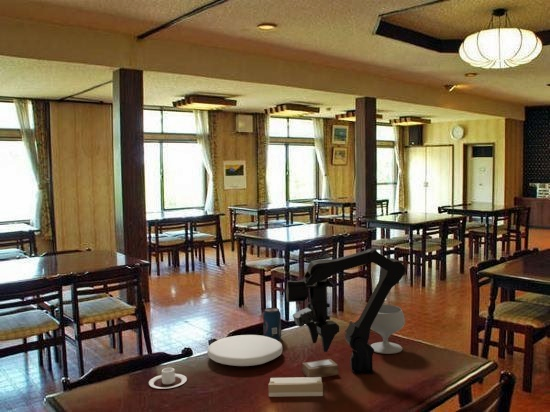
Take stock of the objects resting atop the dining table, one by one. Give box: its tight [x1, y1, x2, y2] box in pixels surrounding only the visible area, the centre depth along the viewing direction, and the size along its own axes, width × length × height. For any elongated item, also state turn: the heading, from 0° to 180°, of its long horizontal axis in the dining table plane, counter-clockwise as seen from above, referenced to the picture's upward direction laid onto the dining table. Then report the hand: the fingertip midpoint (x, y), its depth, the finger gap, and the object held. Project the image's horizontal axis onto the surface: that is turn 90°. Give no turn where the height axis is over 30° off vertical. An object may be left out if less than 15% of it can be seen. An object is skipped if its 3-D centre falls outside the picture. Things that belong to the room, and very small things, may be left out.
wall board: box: [267, 376, 324, 398], centre depth 162 cm, size 16×11×4 cm
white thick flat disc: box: [207, 334, 283, 367], centre depth 190 cm, size 28×6×27 cm
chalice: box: [370, 304, 406, 355], centre depth 193 cm, size 14×14×15 cm
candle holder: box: [148, 367, 188, 390], centre depth 170 cm, size 12×12×4 cm
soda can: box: [262, 307, 282, 341], centre depth 208 cm, size 7×7×12 cm
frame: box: [302, 358, 339, 378], centre depth 173 cm, size 10×6×4 cm, turn 107°
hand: (319, 347), depth 172 cm, fingers open, 9 cm apart
